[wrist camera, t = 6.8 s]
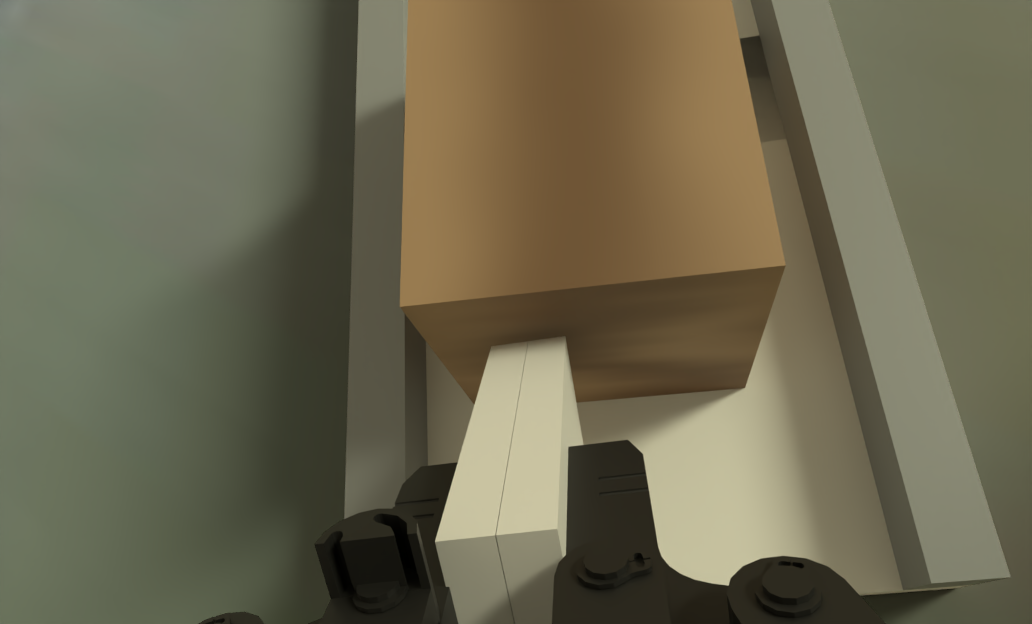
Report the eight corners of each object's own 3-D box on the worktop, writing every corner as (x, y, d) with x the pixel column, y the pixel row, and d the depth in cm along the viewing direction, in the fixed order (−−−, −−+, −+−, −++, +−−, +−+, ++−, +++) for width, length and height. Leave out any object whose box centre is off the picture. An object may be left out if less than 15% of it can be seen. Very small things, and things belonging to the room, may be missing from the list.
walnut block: (693, 81, 24) (706, -124, 17) (745, 388, 20) (786, 265, 13) (473, 112, 25) (409, -71, 18) (479, 410, 21) (399, 307, 14)
